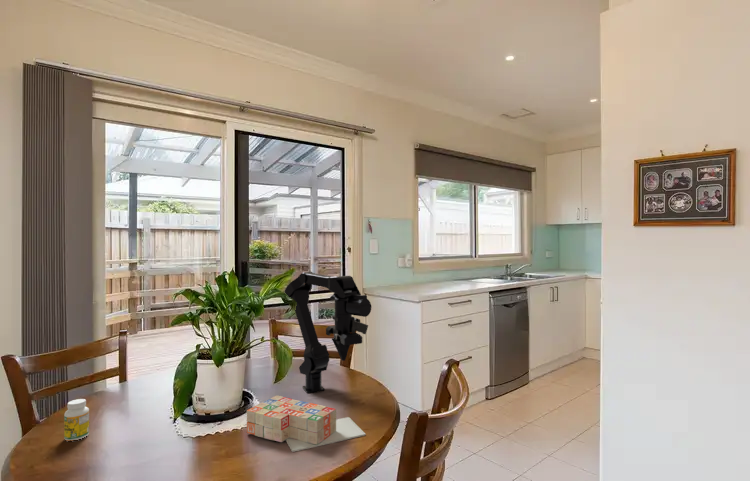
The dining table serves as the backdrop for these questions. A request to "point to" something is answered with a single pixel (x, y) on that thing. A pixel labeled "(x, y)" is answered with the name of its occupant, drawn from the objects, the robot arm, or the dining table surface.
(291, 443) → the rubber mat
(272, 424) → the stack of blocks
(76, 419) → the supplement bottle
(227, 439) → the dining table surface
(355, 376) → the dining table surface
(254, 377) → the dining table surface
